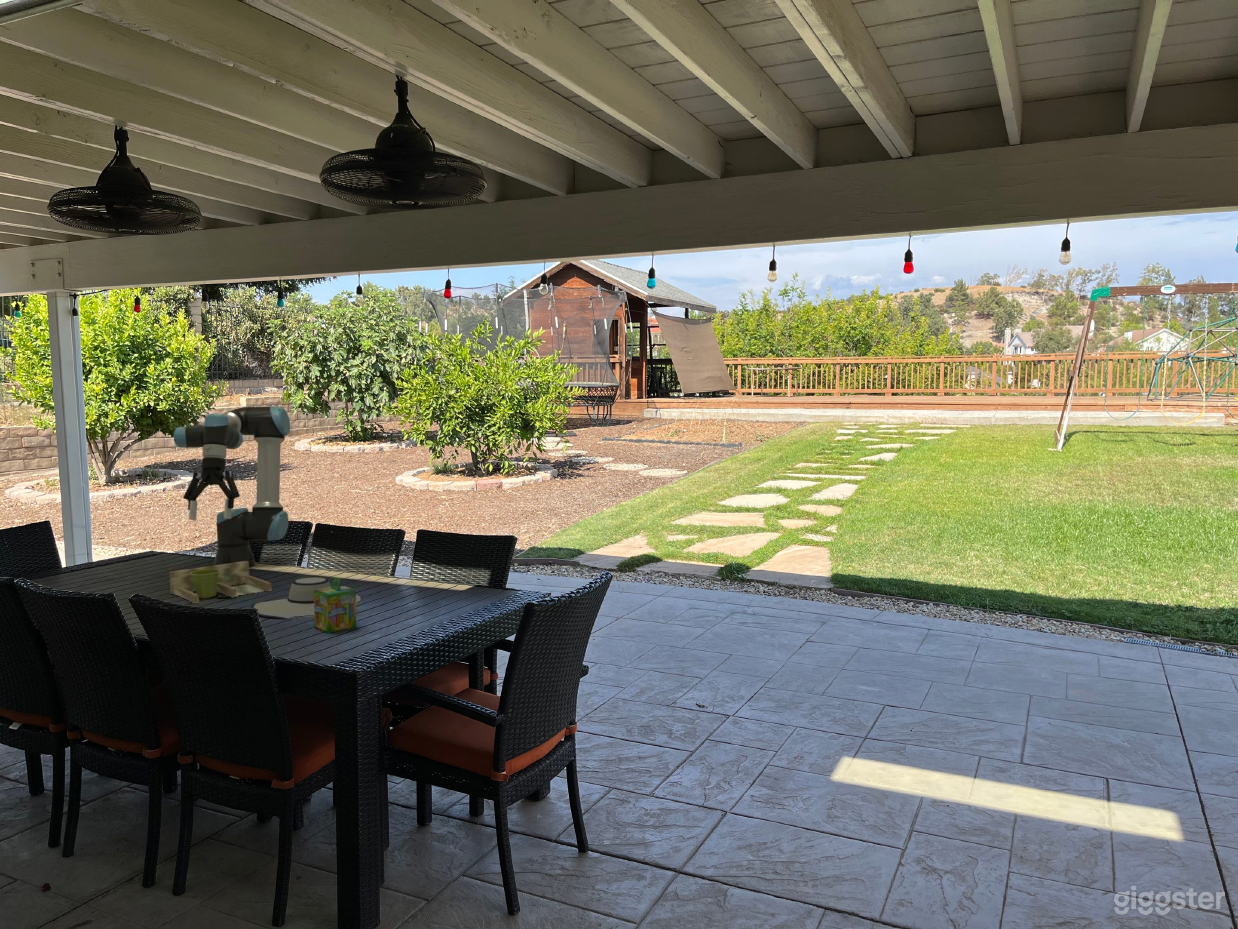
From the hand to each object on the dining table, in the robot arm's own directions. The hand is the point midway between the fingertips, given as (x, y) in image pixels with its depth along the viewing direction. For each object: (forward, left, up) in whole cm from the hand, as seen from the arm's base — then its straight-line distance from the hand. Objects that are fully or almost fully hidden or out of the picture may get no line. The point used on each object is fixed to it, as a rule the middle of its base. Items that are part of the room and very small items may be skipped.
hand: (209, 519), depth 296 cm
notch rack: (-3, 0, -26) cm, 27 cm away
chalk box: (-8, +71, -27) cm, 77 cm away
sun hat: (-16, +39, -27) cm, 50 cm away
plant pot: (+3, +1, -27) cm, 27 cm away
